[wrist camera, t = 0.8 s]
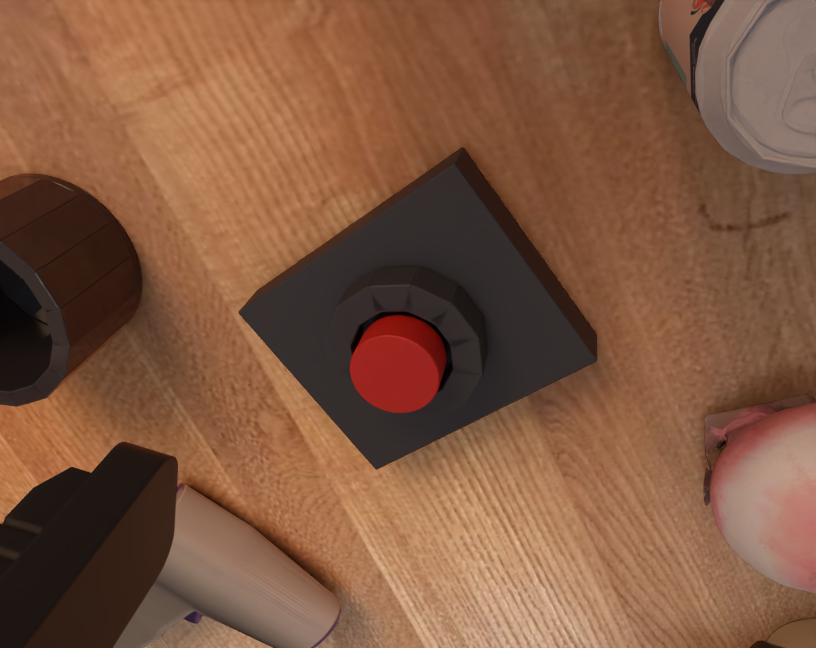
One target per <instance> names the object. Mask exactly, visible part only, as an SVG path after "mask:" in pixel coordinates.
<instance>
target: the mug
mask: <svg viewBox="0 0 816 648" xmlns="http://www.w3.org/2000/svg"><path fill="white" fill-rule="evenodd" d="M767 642H769V643H772V644H775V645H778V646H782V647H785V648H816V619H805V620H799V621H795V622H792V623H789V624H786V625H784V626H782V627H780V628H779V629H777V630H776V631H775V632H774V633H773V634H772V635H771V636H770V637H769V639H768V640H767Z"/></svg>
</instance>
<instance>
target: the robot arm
mask: <svg viewBox="0 0 816 648" xmlns="http://www.w3.org/2000/svg"><path fill="white" fill-rule="evenodd" d="M177 475H178V463H177V459H176V458H175V457H173V456H170V455H167V454H163V453H160V452H157V451H154V450H150V449H147V448H144V447H141V446H137V445H134V444H131V443H128V442H121V443H119V444H118V445H116V446H115V447H114V448H113V449H112V450H111V451H110V452H109V454H108V455H107V456H106V457H105V458H104V459H103V460H102V462H101V463H100V464H99V465H98V466H97V467H96V468H95V470H94V471H93V472H92V473H90V472H87V471H83V470H80V469H77V468H74V467H71V468H69V469H67V470H65V471H63V472H62V473H60V474H58V475H56V476H54V477H52V478H51V479H49V480H47V481H45V482H43V483H42V484H40V485H38V486H36V487H34V488H33V489H32V490H31V491H30V492H29V493H28V494H27V495H26V496H25V497H24V498H23V499H22V500H21V501H20V503H19V504H18V505H17V506H16V507H15V508H14V509H13V510H12V511H11V512H10V513H9V514H8V515H7V516H6V517H5V520H4V522H3V524H2V525H1V524H0V648H113V647H114V645H115V644H116V642H117V641H118V639H119V637H120V636H121V634H122V633H123V631H124V630H125V628H126V626H127V625H128V623H129V622H130V620H131V619H132V617H133V616H134V614H135V612H136V611H137V609H138V608H139V606H140V605H141V603H142V601H143V600H144V598H145V597H146V595H147V594H148V592H149V591H150V589H151V587H152V586H153V584H154V583H155V581H156V580H157V578H158V576H159V575H160V573H161V571H162V569H163V567H164V565H165V562H166V560H167V558H168V555H169V552H170V549H171V546H172V542H173V538H174V531H175V513H176V494H177ZM750 648H785V647H782V646H778V645H775V644H772V643H769V642H765V641H757V642H755V643H754V644H753V645H752V646H751V647H750Z"/></svg>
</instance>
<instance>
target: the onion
mask: <svg viewBox="0 0 816 648" xmlns="http://www.w3.org/2000/svg"><path fill="white" fill-rule="evenodd" d="M726 442H727V443H726ZM725 443H726V446H725V448H724V447H723V446H724V445H725ZM715 448H718V449H722V452H721V453H720V455H719V456H718V457H717V460H716V461H715V464H714V467H713V470H711V465H710V460H709V455H708V453H710V451H712V450H714V449H715ZM705 452H706V458H707V462H708V466H709V469H710V470H707V469H706V472H705V478H704V503H705V505H706V506H707V505H708V504H709V502H711V507H712V511H713V515H714V519H715V522H716V525H717V527H718V530H719V531H720V533H721V535H722V536H723V538H724V539H725V541H726V542H727V544H728V545H729V546H730V547H731V548H732V550H733V551H734V552H735V553H736V554H737V555H738V556H740V557H741V558H742V559H743V560H744V561H745V562H746V563H747V564H749V565H750V566H751V567H753V568H754V569H756V570H757V571H758V572H760V573H761V574H763V575H764V576H766V577H768V578H769V579H771V580H773V581H775V582H777V583H779V584H781V585H784V586H786V587H791V588H795V589H799V590H803V591H808V592H811V593H816V400H815V399H814V398H812V397H811V396H810V395H809V394H804V395H799V396H795V397H790V398H786V399H781V400H777V401H772V402H768V403H764V404H759V405H754V406H750V407H745V408H741V409H736V410H732V411H727V412H723V413H718V414H713V415H709V416H706V417H705Z"/></svg>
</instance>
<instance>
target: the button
mask: <svg viewBox="0 0 816 648" xmlns="http://www.w3.org/2000/svg"><path fill="white" fill-rule="evenodd" d="M446 359H447V357H446V350H445V346H444V344H443V342H442V340H441V338H440V336H439V335H438V334H437V332H436V331H435V330H434V329H433V328H432V327H431V326H429V325H428V324H426V323H425V322H423V321H421V320H419V319H417V318H414V317H411V316H406V315H390V316H386V317H383V318H380V319H378V320H376V321H375V322H373V323H372V324H371V325H370V326H369V327H368V328H367V329H366V331H365V332H364V334H363V336H362V338H361V340H360V342H359V344H358V346H357V347H356V349H355V351H354V353H353V355H352V358H351V361H350V375H351V379H352V382H353V384H354V386H355V388H356V390H357V391H358V392H359V394H360V395H361V396H362V397H363V398H364V399H365V400H366V401H367V402H369V403H370V404H372V405H373V406H375V407H377V408H379V409H382V410H385V411H388V412H393V413H408V412H413V411H416V410H419V409H421V408H423V407H424V406H426V405H427V404H428V403H430V402H431V401H432V399H433V398H434V397H435V395H436V393H437V391H438V389H439V385H440V382H441V379H442V376H443V373H444V369H445V366H446Z"/></svg>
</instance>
